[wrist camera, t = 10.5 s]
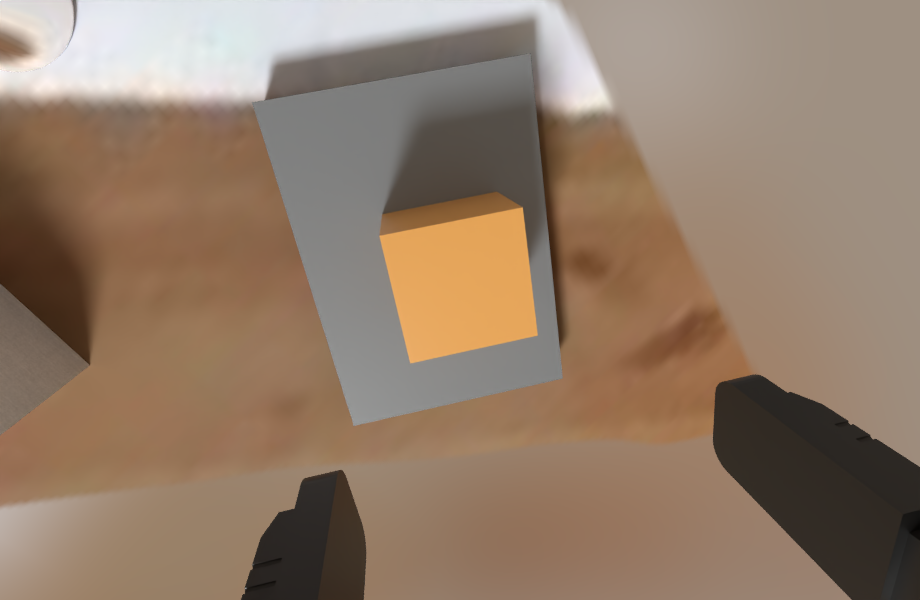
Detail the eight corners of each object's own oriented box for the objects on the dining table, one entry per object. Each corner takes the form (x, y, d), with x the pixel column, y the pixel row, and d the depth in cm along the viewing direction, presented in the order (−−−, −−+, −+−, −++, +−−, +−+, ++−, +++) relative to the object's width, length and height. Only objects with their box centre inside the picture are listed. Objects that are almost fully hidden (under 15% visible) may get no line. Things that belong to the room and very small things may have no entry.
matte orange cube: (382, 214, 23) (379, 236, 18) (496, 191, 23) (522, 207, 19) (407, 320, 25) (410, 363, 21) (511, 298, 26) (537, 335, 21)
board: (263, 104, 22) (225, 97, 17) (519, 59, 23) (555, 39, 18) (356, 406, 29) (348, 466, 24) (552, 363, 30) (584, 411, 25)
